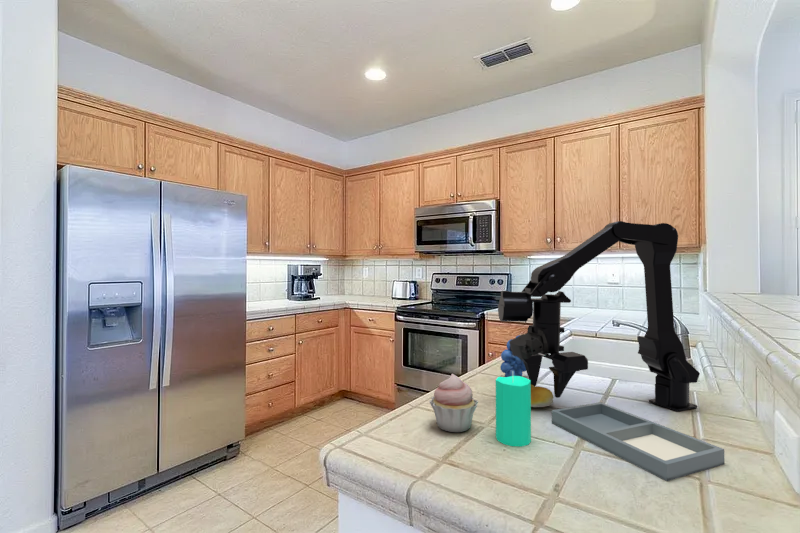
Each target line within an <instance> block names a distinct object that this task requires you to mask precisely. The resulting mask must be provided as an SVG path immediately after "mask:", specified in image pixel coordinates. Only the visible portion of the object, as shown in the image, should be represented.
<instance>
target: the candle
mask: <svg viewBox="0 0 800 533" xmlns="http://www.w3.org/2000/svg"><path fill="white" fill-rule="evenodd" d="M495 438H496V440H497V441H498V442H499V443H501V444H503V445H506V446H510V447H525V446H529V445H530V443H531V442H532V407H531V380H529V378H527V377H524V376H523V375H522V376H513V371H512V376H509V377H505V376H497V378H496V379H495Z"/></svg>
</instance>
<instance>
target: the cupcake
mask: <svg viewBox="0 0 800 533" xmlns="http://www.w3.org/2000/svg"><path fill="white" fill-rule="evenodd" d="M433 394H434V395H433V396H431V400H429V401H428V402H429V404H430V406H431V408H432V409H433V412H434V417H435V421H436V424H437V427H438V428H439V429H441V430H442V431H446V432H450V433H463V432H466V431H468V430H469V429H470V428H471V426H472V422H473V419H474V418H473V417H474V413H475V411H476V409H477V407H478V403H479V400H476V399H474V397H473V394H474V393H473V391H472V388H471V386H470V385H469V384H468V383H466V382H464V381H463V380H462V379H461V378H460V377H458V376H457V375H456V374H454V373H451V375H450V377H449V378H447V379H445V380H443V381H441V382H440V383H439V384H438V387H436V389H435V390H434V392H433Z"/></svg>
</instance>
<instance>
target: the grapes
mask: <svg viewBox="0 0 800 533" xmlns="http://www.w3.org/2000/svg"><path fill="white" fill-rule="evenodd" d="M520 335H521V334H519V335H516V337H518V336H520ZM511 340H512V339H509V340H508V341H507V342H506V349H504V350H503V351H502V352H501V354H500V357H501V360H502V361H503V362H502V363H501V364H500V367H499V368H500V371H501V372H502V373H503V374H504V377H509V376H512V371H513V376H522V377H523V372H524V373H525V372H527V371H526V368H525V365H524V363H523V361H522V360H521V359H520V358H519V357H517V356H514V355H513V354H512V351H510V343H509V341H511Z"/></svg>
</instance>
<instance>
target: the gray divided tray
mask: <svg viewBox="0 0 800 533" xmlns="http://www.w3.org/2000/svg"><path fill="white" fill-rule="evenodd" d="M551 424H553V425H555V426H556V427H559V428H560V429H562V430H565V431H566V432H569V433H570V434H572V435H575V436H576V437H578V438H580V439H582V440H584V441H586V442H587V443H589V444H591V445H594V446H595V447H598V448H600V449H602V450H604V451H605V452H608V453H610V454H612V455H614V456H615V457H618V458H620V459H621V460H624V461H626V462H628V463H629V464H632V465H633V466H635V467H638V468H640V469H641V470H644V471H646V472H648V473H649V474H651V475H653V476H655V477H658V478H659V479H661V480H664V481H665V482H670V481H673V480H677V479H680V478H683V477H686V476H690V475H693V474H696V473H701V472H703V471H706V470H709V469H714V468H716V467H720V466H724V465H725V448H722V447H720V446H717V445H715V444H712V443H709V442H707V441H705V440H701V439H698V438H696V437H693V436H691V435H688V434H685V433H683V432H681V431H678V430H675V429H673V428H670V427H667V426H665V425H661V424H659V423H656V422H655V421H651V420H649V419H646V418H643V417H641V416H638V415H635V414H633V413H630V412H629V411H628V412H627V411H625V410H623V409H620V408H617V407H614V406H613V405H609V404H606V403H604V402H600V401H599V402H593V403H587V404H582V405H581V404H580V405H575V406H569V407H564V408H558V409H552V410H551Z"/></svg>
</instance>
